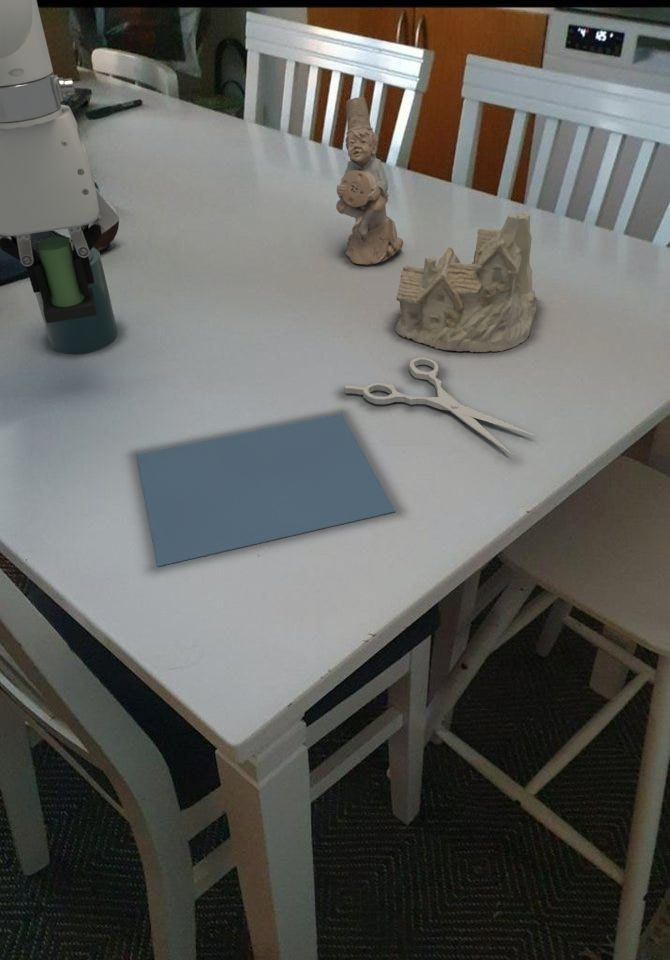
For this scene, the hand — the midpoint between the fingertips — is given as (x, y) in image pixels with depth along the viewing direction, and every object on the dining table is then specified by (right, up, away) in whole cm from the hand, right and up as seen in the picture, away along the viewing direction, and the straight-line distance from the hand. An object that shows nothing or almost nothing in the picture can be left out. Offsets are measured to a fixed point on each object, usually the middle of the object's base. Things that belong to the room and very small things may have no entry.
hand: (66, 292), depth 82 cm
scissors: (+39, -12, +2) cm, 41 cm away
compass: (-9, +14, +36) cm, 40 cm away
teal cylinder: (-3, -2, +16) cm, 17 cm away
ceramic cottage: (+43, 0, +17) cm, 46 cm away
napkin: (+20, -19, -6) cm, 28 cm away
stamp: (0, -2, +1) cm, 2 cm away
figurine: (+32, +13, +32) cm, 47 cm away
